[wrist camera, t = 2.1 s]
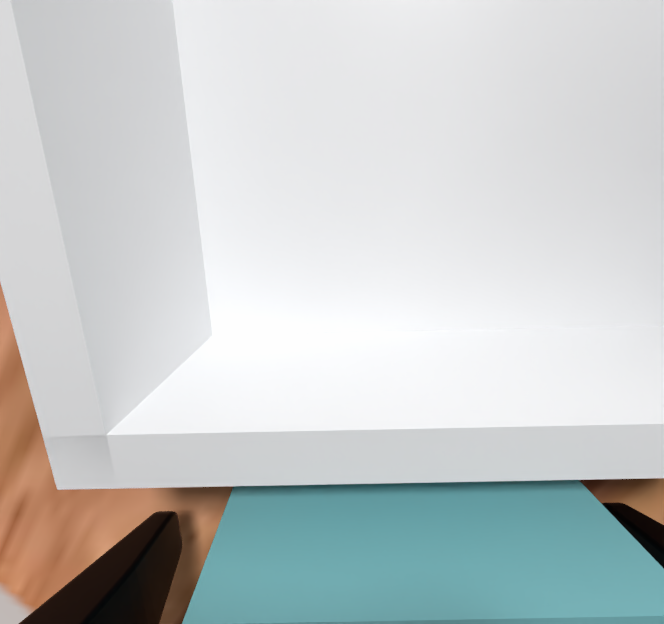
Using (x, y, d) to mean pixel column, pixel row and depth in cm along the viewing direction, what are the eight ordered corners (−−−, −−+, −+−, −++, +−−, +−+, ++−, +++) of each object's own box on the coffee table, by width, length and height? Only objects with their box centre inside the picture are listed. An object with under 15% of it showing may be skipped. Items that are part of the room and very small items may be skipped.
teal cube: (466, 547, 9) (612, 898, 4) (284, 551, 9) (233, 902, 5) (482, 379, 8) (709, 616, 3) (271, 384, 8) (181, 626, 3)
